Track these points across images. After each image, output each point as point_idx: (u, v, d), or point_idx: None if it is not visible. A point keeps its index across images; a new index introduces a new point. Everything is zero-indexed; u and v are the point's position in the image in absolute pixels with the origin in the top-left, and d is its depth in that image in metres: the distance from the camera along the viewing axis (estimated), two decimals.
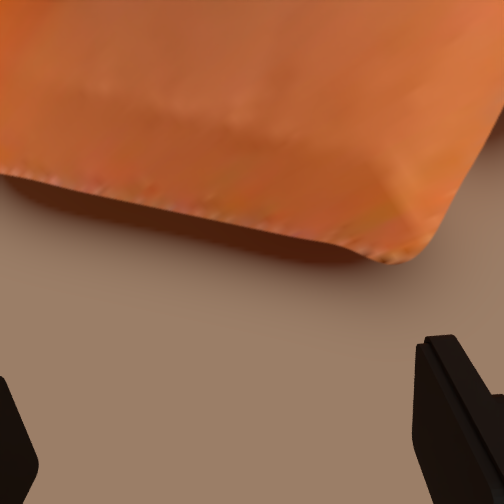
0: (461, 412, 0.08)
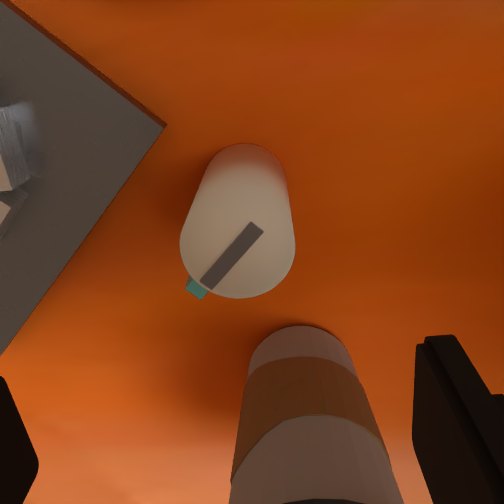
0: (461, 412, 0.08)
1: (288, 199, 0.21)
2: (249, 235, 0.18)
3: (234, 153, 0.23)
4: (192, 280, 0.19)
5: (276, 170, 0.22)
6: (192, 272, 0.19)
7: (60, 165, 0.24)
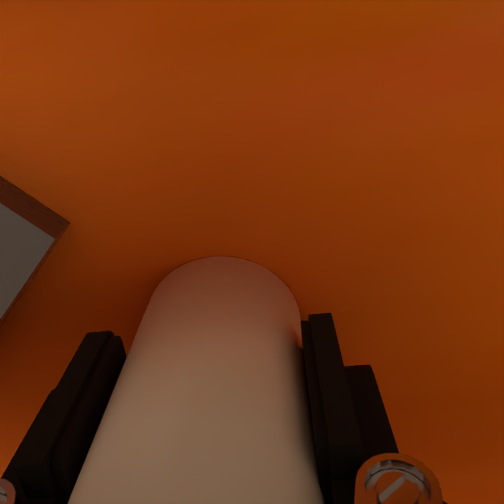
0: (314, 376, 0.09)
1: None
2: None
3: (196, 295, 0.11)
4: None
5: (284, 336, 0.11)
6: None
7: None
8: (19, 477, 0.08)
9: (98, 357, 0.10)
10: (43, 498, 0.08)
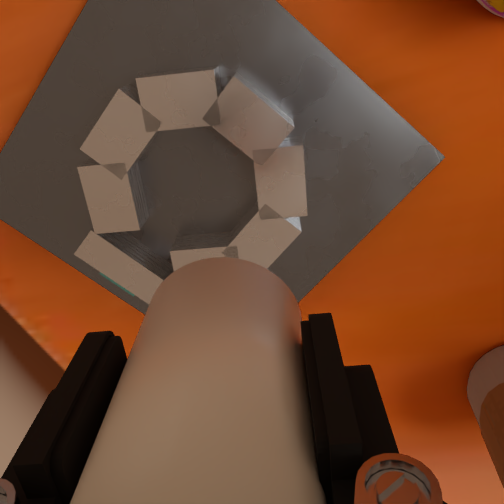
0: (314, 376, 0.09)
1: None
2: None
3: (198, 296, 0.11)
4: None
5: (285, 337, 0.11)
6: None
7: (336, 191, 0.25)
8: (19, 477, 0.08)
9: (98, 357, 0.10)
10: (43, 498, 0.08)
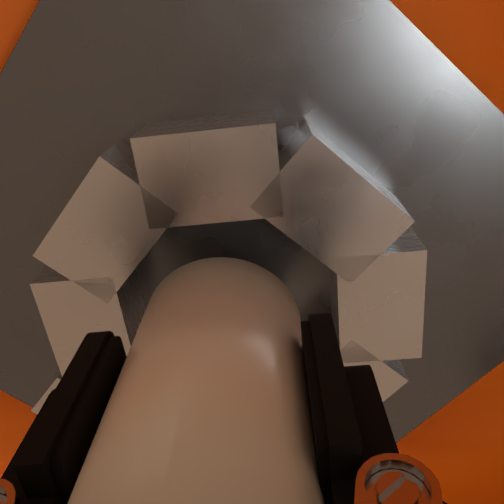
0: (314, 376, 0.09)
1: None
2: None
3: (196, 296, 0.11)
4: None
5: (284, 337, 0.11)
6: None
7: (456, 303, 0.16)
8: (19, 477, 0.08)
9: (98, 357, 0.10)
10: (43, 498, 0.08)
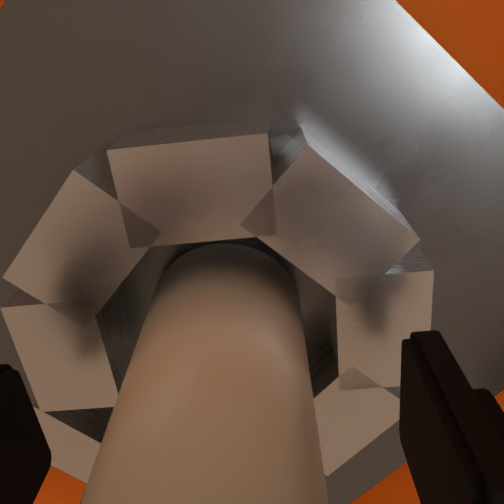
0: (442, 405, 0.08)
1: (311, 393, 0.10)
2: None
3: (202, 280, 0.12)
4: None
5: (284, 317, 0.11)
6: None
7: (463, 323, 0.15)
8: None
9: None
10: None
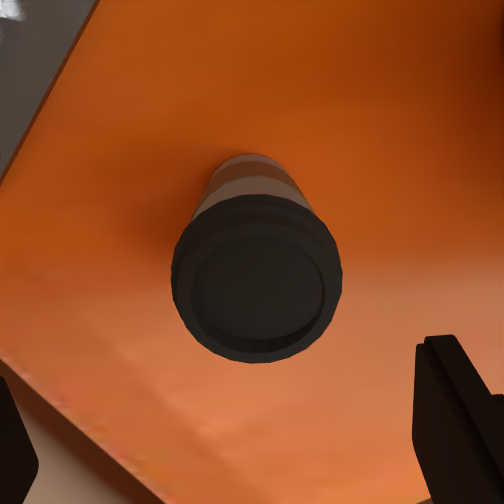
0: (461, 412, 0.08)
1: None
2: None
3: None
4: None
5: None
6: None
7: (30, 4, 0.29)
8: None
9: None
10: None
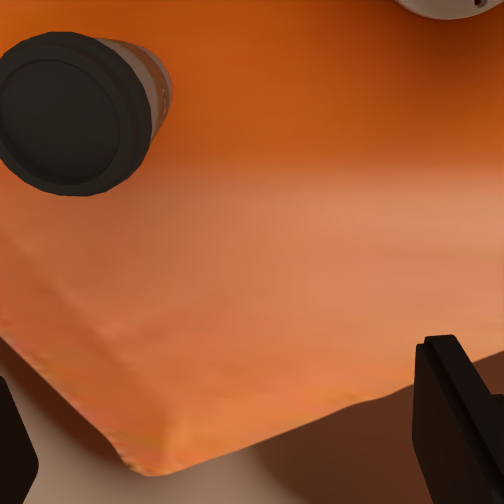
0: (461, 412, 0.08)
1: None
2: None
3: None
4: None
5: None
6: None
7: None
8: None
9: None
10: None
